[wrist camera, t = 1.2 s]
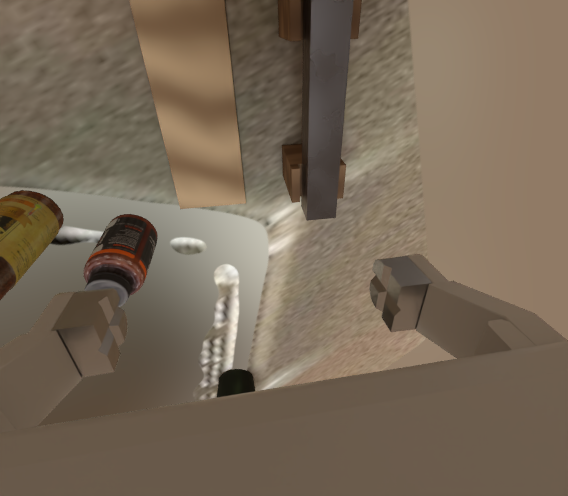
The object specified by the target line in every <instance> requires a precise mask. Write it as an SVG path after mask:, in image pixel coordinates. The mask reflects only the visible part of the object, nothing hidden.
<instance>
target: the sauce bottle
mask: <svg viewBox="0 0 568 496" xmlns="http://www.w3.org/2000/svg"><path fill="white" fill-rule="evenodd" d="M62 224H63V214H62V212H61V209H60V208H59V207H58V205H57V204H55V202H54V201H53V200H52V199H50V198H48V197H46V196H45V195H43V194H40V193H37V192H32V191H23V190H21V191H16V192H13V193H11V194H9V195H8V196H5V197H3V198H1V199H0V300H1V299H2V298H3V296H4V295H5V294H6V293H7V292H8V291H9V290H10V289H12V288H13V287H14V286H15V284H16V283H17V282H18V281H19V280H20V279H21V277H22V276H23V275H24V274H25V273H26V271H27V270H28V269H29V268H30V266H31V265H32V264H33V263H34V262H35V261H36V259H37V258H38V257H39V256H40V255H41V254H42V252H43V251H44V250H45V249H46V247H47V246H48V245H49V244H50V243H51V242H52V240H53V239H54V238H55V237H56V235H57V234H58V232H59V229H60V228H61V226H62Z"/></svg>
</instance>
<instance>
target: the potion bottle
mask: <svg viewBox="0 0 568 496" xmlns="http://www.w3.org/2000/svg"><path fill="white" fill-rule="evenodd" d="M249 392H255V387H254V381H253V377H252V374H250V373H249V372H248V371H246V370H242V369H234V370H229V371H227V372H225V373H224V374H223V375H222V376H221V377H220V378H219V385H218V393H217V398H218V397H224V396H230V395H236V394H242V393H249Z"/></svg>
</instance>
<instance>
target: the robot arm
mask: <svg viewBox="0 0 568 496" xmlns="http://www.w3.org/2000/svg"><path fill="white" fill-rule="evenodd" d="M373 272H374V273H375V274H376V275H375V277H374V278H373V279H372V280H371V283H370V295H371V299H372V302H373V304H374V306H375V307H376V308H377V309H379V310H380V311H382V312H383V313H382V319H383V320H384V322H385V323H386V325H387V327H388V328H389V330H390V331H391V332H396V331H404V330H413V329H416V331H418V332H419V333H421V334H422V335H423V336H425V337H426V338H428V339H429V340H431V341H432V342H434V343H435V344H437V345H438V346H440V347H441V348H442V349H444V350H445V351H447V352H448V353H450V354H451V355H453V356H454V357H456V358H457V359H453V360H447V361H440V362H434V363H428V364H422V365H416V366H411V367H404V368H398V369H392V370H386V371H379V372H373V373H366V374H360V375H354V376H348V377H341V378H335V379H329V380H323V381H316V382H310V383H304V384H298V385H292V386H285V387H279V388H273V389H267V390H261V391H255V392H249V393H242V394H236V395H230V396H224V397H218V398H212V399H205V400H199V401H194V402H187V403H181V404H175V405H168V406H162V407H156V408H150V409H144V410H138V411H131V412H126V413H119V414H113V415H107V416H100V417H95V418H88V419H82V420H76V421H70V422H63V423H57V424H51V425H45V426H39V427H37V425H38V424H39V423H40V422H41V421H42V420H43V419H44V418H45V417H46V416H47V415H48V414H49V413H50V412H51V411H52V410H53V409H54V408H55V407H56V406H57V405H58V404H59V402H61V400H62V399H63V398H64V397H65V396H66V395H67V394H68V393H69V392H70V391H71V390H72V389H73V388H74V387H75V386H76V385H77V384H78V383H79V382H80V381H81V380H82V377H88V376H93V375H99V374H105V373H111V372H114V371H115V368H116V365H117V362H118V359H119V356H120V354H121V353H120V350H119V348H118V347H119V346H120V345H121V344H122V343H123V342H124V341H125V338H126V335H127V318H126V314H125V311H124V310H123V309H121V308H120V307H118V306H117V305H118V303H119V300H120V298H119V295H118V293H117V291H116V290H115V289H113V288H110V289H99V290H88V291H78V292H67V293H59V294H57V295H55V296H54V297H53V298H52V300H51V301H50V303H49V304H48V306H47V307H46V308H45V310H44V311H43V313H42V314H41V316H40V317H39V319H38V320H37V321H36V323H35V324H34V326H33V327H32V329H31V330H30V332H29V333H28V334H23V335H20V336H18V337H17V338H15V339H14V340H12V341H11V342H9V343H8V344H6V345H4V346H3V347H1V348H0V496H568V340H567V339H565V338H564V337H563V336H562V335H561V334H559V333H558V332H557V331H555V330H554V329H553V328H552V327H551V326H550V325H548V324H547V323H546V322H545V321H543V320H542V319H541V318H540V317H539V316H537V315H536V314H535V313H532V312H530V311H527V310H525V309H523V308H520V307H517V306H515V305H512V304H510V303H507V302H505V301H502V300H500V299H497V298H495V297H492V296H490V295H487V294H485V293H482V292H480V291H477V290H475V289H472V288H470V287H467V286H465V285H462V284H460V283H457V282H454V281H448V280H447V279H446V278H445V277H444V276H443V275H442V274H441V273H440V272H439V271H438V270H437V269H436V268H435V267H434V266H433V265H432V264H431V263H429V261H428V260H427V259H426V258H425V257H424V256H423V255H420V254H414V255H407V256H402V257H394V258H386V259H377V260H375V262H374V264H373Z"/></svg>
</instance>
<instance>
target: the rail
mask: <svg viewBox="0 0 568 496" xmlns="http://www.w3.org/2000/svg"><path fill="white" fill-rule="evenodd" d="M353 1H354V0H303V86H302V196H301V207H302V209H303V212H304V214H305V217H306V220H316V219H327V218H336V207H337V195H338V182H339V170H340V158H341V146H342V134H343V122H344V110H345V98H346V86H347V74H348V62H349V50H350V37H351V25H352V13H353Z"/></svg>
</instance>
